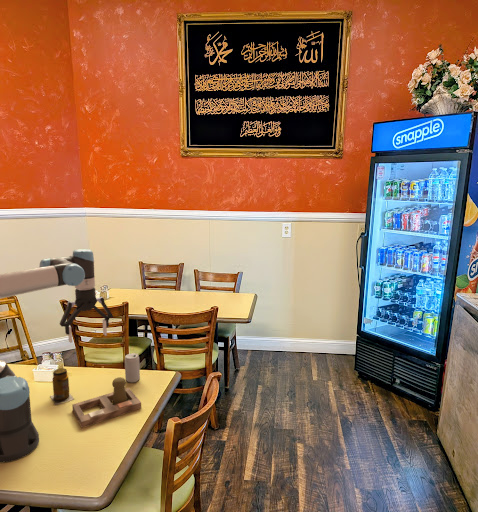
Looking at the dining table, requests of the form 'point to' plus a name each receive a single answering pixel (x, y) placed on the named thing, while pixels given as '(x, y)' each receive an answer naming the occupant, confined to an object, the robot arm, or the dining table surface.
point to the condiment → (61, 387)
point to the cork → (119, 391)
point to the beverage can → (132, 367)
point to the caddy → (105, 408)
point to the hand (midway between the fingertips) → (88, 338)
